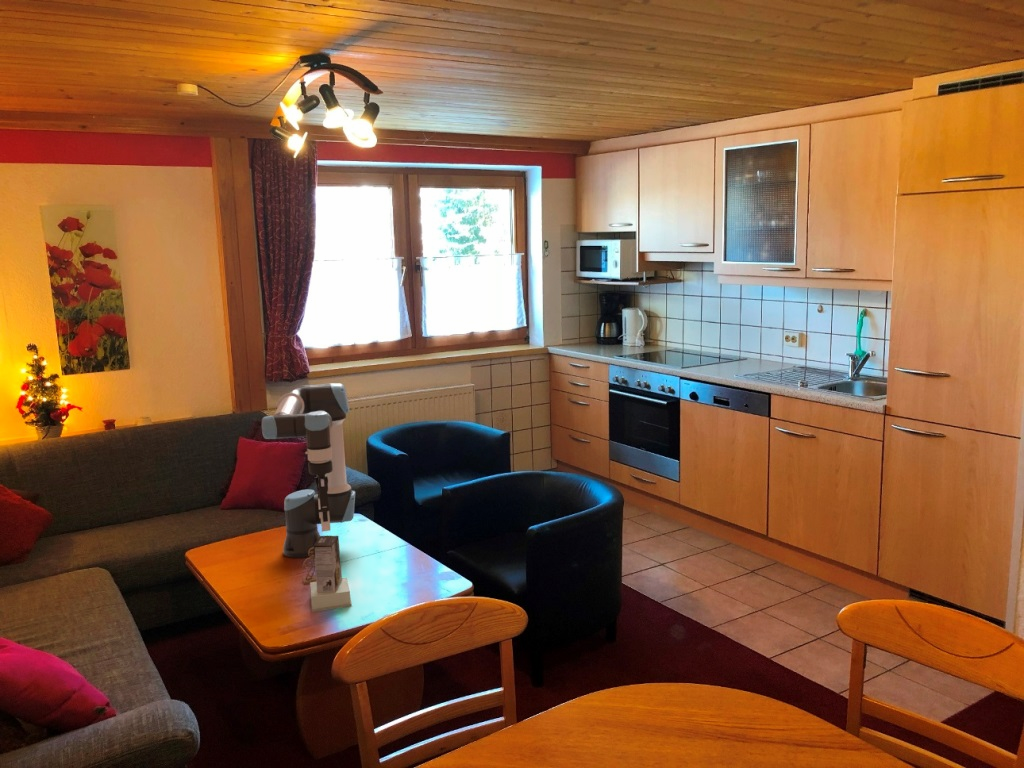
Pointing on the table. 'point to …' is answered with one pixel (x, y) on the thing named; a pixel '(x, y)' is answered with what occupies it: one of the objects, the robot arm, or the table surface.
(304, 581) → the gingerbread man figurine
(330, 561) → the coffee box
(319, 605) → the pedestal
